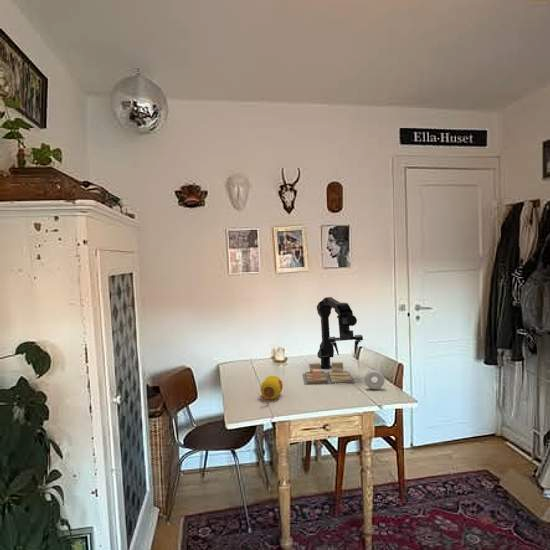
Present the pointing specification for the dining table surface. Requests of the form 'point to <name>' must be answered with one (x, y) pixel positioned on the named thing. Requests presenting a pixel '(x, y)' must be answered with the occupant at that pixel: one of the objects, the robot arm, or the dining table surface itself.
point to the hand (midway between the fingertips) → (346, 354)
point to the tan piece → (339, 373)
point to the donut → (374, 374)
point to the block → (316, 373)
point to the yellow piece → (271, 387)
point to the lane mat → (327, 379)
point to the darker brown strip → (310, 374)
